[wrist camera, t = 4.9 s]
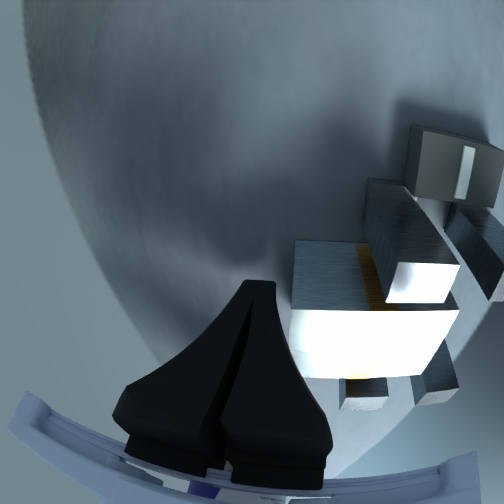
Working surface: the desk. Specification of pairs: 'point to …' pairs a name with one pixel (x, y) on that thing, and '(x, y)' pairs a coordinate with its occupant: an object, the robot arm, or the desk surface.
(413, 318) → the banded white parcel
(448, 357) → the collar
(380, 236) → the collar
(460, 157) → the plate
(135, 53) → the desk surface
